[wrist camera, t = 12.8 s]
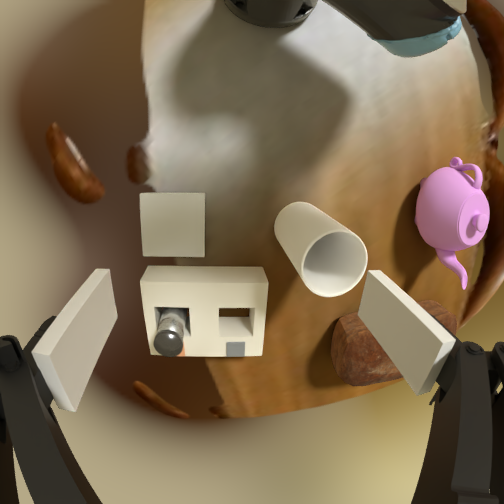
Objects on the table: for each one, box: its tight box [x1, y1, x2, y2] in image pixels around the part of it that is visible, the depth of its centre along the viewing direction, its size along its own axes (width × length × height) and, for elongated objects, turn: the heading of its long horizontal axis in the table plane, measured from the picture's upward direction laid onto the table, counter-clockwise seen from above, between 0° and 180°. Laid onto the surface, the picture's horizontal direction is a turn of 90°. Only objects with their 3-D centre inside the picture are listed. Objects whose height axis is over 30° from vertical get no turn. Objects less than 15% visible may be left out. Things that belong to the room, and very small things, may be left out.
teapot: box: [414, 157, 489, 290], centre depth 42 cm, size 22×16×14 cm
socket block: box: [140, 265, 269, 357], centre depth 47 cm, size 14×19×6 cm
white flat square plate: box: [140, 193, 205, 257], centre depth 44 cm, size 10×10×1 cm
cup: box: [274, 202, 367, 297], centre depth 39 cm, size 8×8×16 cm
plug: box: [153, 307, 188, 357], centre depth 43 cm, size 4×4×12 cm
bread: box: [331, 300, 457, 386], centre depth 51 cm, size 14×28×12 cm, turn 91°
